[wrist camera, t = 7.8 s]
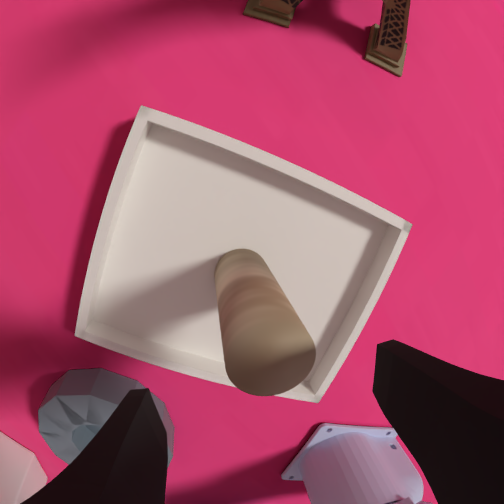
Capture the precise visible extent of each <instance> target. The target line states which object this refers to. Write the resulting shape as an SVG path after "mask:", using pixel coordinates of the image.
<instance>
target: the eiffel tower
mask: <svg viewBox="0 0 504 504" xmlns="http://www.w3.org/2000/svg"><path fill="white" fill-rule="evenodd" d="M302 1H303V0H248V2H247V5H246V8H245V10H244V13H243V15H247V16H251V17H254V18H258V19H261V20H265V21H268V22H271V23H274V24H278V25H281V26H284V27H287V28H288V27H289V25H290V22H291V20H292V18H293V15H294V12H295V8H296V6H297V5H298V4H299V3H300V2H302ZM382 1H383V6H382V13H381V20H380V26H379V25H377V24H374V25H372V26H371V30H370V35H369V39H368V44H367V49H366V53H365V57H364V59H366V60H368V61H370V62H372V63H374V64H376V65H378V66H380V67H382V68H384V69H386V70H388V71H389V72H391V73H393V74H395V75H397V76H399V77H401V76H402V71H403V66H404V60H405V54H406V48H407V43H405V41H406V35H407V25H408V17H409V9H410V0H382Z"/></svg>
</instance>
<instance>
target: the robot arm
mask: <svg viewBox="0 0 504 504" xmlns="http://www.w3.org/2000/svg"><path fill="white" fill-rule="evenodd" d="M373 393H374V395H375V398H376V400H377V402H378V404H379V406H380V408H381V410H382V411H383V413H384V415H385V417H386V418H387V420H388V421H389V422H390V424H391V425H392V427H393V428H388V427H367V426H352V425H340V424H330V423H323V424H321V425H319V426H318V428H317V429H316V430H315V432H314V433H313V434H312V436H311V437H310V439H309V440H308V441H307V443H306V444H305V445H304V447H303V448H302V449H301V450H300V452H299V453H298V454H297V456H296V457H295V458H294V459H293V461H292V462H291V463H290V465H289V466H288V467H287V468H286V469H285V471H284V472H283V473H282V474H281V477H282V479H283V480H301V481H304V484H305V487H306V490H307V493H308V496H309V499H310V502H311V504H432V503H431V502H424V501H421V500H422V497H423V482H422V479H421V476H420V474H419V473H418V471H417V470H416V468H415V467H414V465H413V464H412V462H411V461H410V459H409V458H408V456H407V455H406V453H405V452H404V450H403V449H402V447H401V446H400V444H399V443H398V441H397V440H396V438H395V437H396V436H397V435H399V437H400V438H401V440H402V441H403V442H404V444H405V445H406V447H407V448H408V450H409V451H410V452H411V454H412V455H413V457H414V458H415V459H416V461H417V463H418V464H419V466H420V468H421V469H422V471H423V473H424V475H425V477H426V479H427V481H428V483H429V485H430V487H431V489H432V491H433V493H434V496H435V498H436V500H437V502H438V504H504V380H500V379H496V378H492V377H488V376H484V375H481V374H478V373H475V372H472V371H469V370H466V369H463V368H460V367H458V366H455V365H452V364H450V363H447V362H445V361H443V360H440V359H438V358H435V357H433V356H431V355H429V354H426V353H424V352H422V351H420V350H417V349H415V348H413V347H411V346H408V345H406V344H404V343H401V342H399V341H396V340H390V341H386V342H383V343H380V344H377V352H376V363H375V373H374V383H373ZM167 466H168V444H167V431H166V429H165V427H164V425H163V422H162V420H161V418H160V415H159V413H158V410H157V408H156V406H155V403H154V401H153V398H152V396H151V393H150V390H149V388H145V389H133V390H130V391H129V392H128V393H127V394H126V396H125V397H124V398H123V400H122V401H121V402H120V404H119V405H118V406H117V408H116V409H115V410H114V412H113V413H112V414H111V416H110V417H109V419H108V420H107V421H106V422H105V424H104V425H103V426H102V428H101V429H100V430H99V431H98V433H97V434H96V435H95V436H94V438H93V439H92V440H91V441H90V442H89V443H88V445H87V446H86V447H85V448H84V449H83V450H82V452H81V453H80V454H79V455H78V456H77V457H76V458H75V459H74V460H73V461H72V462H71V463H70V464H69V465H68V466H67V467H66V468H65V469H64V470H63V471H62V472H61V473H60V474H59V475H58V476H57V477H55V478H54V479H53V480H52V481H51V482H49V483H48V484H47V485H46V486H44V487H43V488H42V489H40V490H39V491H38V492H36V493H35V494H34V495H32V496H31V497H30V498H28V499H27V500H25V501H23V502H22V503H20V504H164V501H165V489H166V477H167Z"/></svg>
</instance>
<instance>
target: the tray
mask: <svg viewBox="0 0 504 504" xmlns="http://www.w3.org/2000/svg"><path fill="white" fill-rule="evenodd" d="M412 225H413V224H411V223H409V222H408V221H406V220H404V219H402V218H400V217H399V216H397V215H395V214H393V213H391V212H389V211H388V210H386V209H384V208H382V207H380V206H378V205H376V204H374V203H373V202H371V201H369V200H367V199H365V198H363V197H361V196H359V195H357V194H355V193H353V192H351V191H349V190H347V189H345V188H343V187H341V186H339V185H337V184H335V183H333V182H331V181H329V180H327V179H325V178H323V177H321V176H318V175H316V174H314V173H312V172H310V171H308V170H306V169H303V168H301V167H299V166H297V165H295V164H292V163H290V162H288V161H286V160H284V159H281V158H279V157H277V156H274V155H272V154H270V153H267V152H265V151H263V150H260V149H258V148H256V147H253V146H251V145H248V144H246V143H243V142H241V141H239V140H236V139H234V138H231V137H229V136H226V135H223V134H221V133H218V132H216V131H213V130H210V129H208V128H205V127H202V126H200V125H197V124H194V123H192V122H189V121H186V120H183V119H180V118H178V117H175V116H172V115H169V114H166V113H163V112H160V111H157V110H154V109H151V108H148V107H145V106H142V105H141V107H140V109H139V111H138V114H137V116H136V118H135V121H134V123H133V126H132V128H131V131H130V133H129V136H128V138H127V141H126V144H125V146H124V149H123V152H122V154H121V157H120V160H119V163H118V165H117V168H116V171H115V174H114V177H113V180H112V183H111V186H110V189H109V192H108V195H107V198H106V202H105V205H104V208H103V212H102V215H101V218H100V222H99V225H98V229H97V233H96V236H95V240H94V244H93V248H92V252H91V256H90V260H89V264H88V268H87V273H86V277H85V282H84V287H83V291H82V296H81V301H80V307H79V312H78V318H77V324H76V330H75V336H76V337H79V338H81V339H83V340H86V341H89V342H91V343H94V344H96V345H99V346H102V347H104V348H107V349H110V350H112V351H115V352H118V353H121V354H123V355H126V356H129V357H132V358H135V359H138V360H141V361H144V362H147V363H150V364H153V365H157V366H160V367H163V368H166V369H169V370H173V371H176V372H180V373H183V374H187V375H190V376H194V377H197V378H201V379H205V380H209V381H213V382H217V383H221V384H225V385H229V386H233V387H236V386H235V385H234V384H233V383H232V382H231V381H230V379H229V378H228V376H227V373H226V369H225V362H224V355H223V347H222V339H221V331H220V322H219V314H218V305H217V296H216V287H215V278H214V273H215V267H216V265H217V263H218V261H219V260H220V258H221V257H222V256H223V255H225V254H226V253H228V252H229V251H232V250H235V249H249V250H252V251H255V252H256V253H258V254H259V255H260V256H261V257H262V258H263V259H264V261H265V262H266V264H267V266H268V267H269V269H270V271H271V272H272V274H273V275H274V277H275V279H276V280H277V282H278V284H279V285H280V287H281V288H282V290H283V292H284V293H285V295H286V297H287V298H288V300H289V302H290V303H291V305H292V306H293V308H294V310H295V311H296V313H297V315H298V316H299V318H300V320H301V321H302V323H303V324H304V326H305V328H306V329H307V331H308V333H309V334H310V336H311V338H312V339H313V341H314V344H315V348H316V358H315V362H314V365H313V368H312V370H311V371H310V373H309V374H308V376H307V377H306V378H305V379H304V380H303V381H302V382H301V383H300V384H299V385H297V386H296V387H294V388H292V389H291V390H289V391H286V392H284V393H281V394H277V395H275V396H280V397H285V398H291V399H297V400H302V401H309V402H315V403H319V401H320V400H321V398H322V396H323V395H324V393H325V392H326V390H327V389H328V387H329V385H330V384H331V382H332V381H333V379H334V377H335V376H336V374H337V372H338V371H339V369H340V367H341V366H342V364H343V362H344V361H345V359H346V357H347V356H348V354H349V352H350V350H351V349H352V347H353V345H354V343H355V342H356V340H357V338H358V336H359V334H360V333H361V331H362V329H363V327H364V325H365V323H366V322H367V320H368V318H369V316H370V314H371V312H372V310H373V308H374V306H375V304H376V303H377V301H378V299H379V297H380V295H381V293H382V291H383V289H384V287H385V284H386V282H387V280H388V278H389V276H390V274H391V272H392V270H393V268H394V266H395V263H396V261H397V259H398V257H399V255H400V252H401V250H402V248H403V246H404V243H405V241H406V239H407V236H408V234H409V232H410V229H411V227H412Z"/></svg>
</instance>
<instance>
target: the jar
mask: <svg viewBox="0 0 504 504" xmlns="http://www.w3.org/2000/svg"><path fill="white" fill-rule="evenodd" d="M47 479H48V478H47V476H46V474H45V472H44V470H43V469H42V467H41V465H40V463H39V461H38V459H37V457H36V455H35V454H34V453H33V452H32V451H30V450H28V449H27V448H25V447H24V446H22V445H20V444H19V443H17V442H16V441H14V440H13V439H11V438H10V437H8V436H7V435H5V434H4V433H2V432H1V431H0V504H20V503H22V502H23V501H25V500H27V499H28V498H30V497H31V496H32V495H34V494H35V493H36V492H38V491H39V490H40V489H42V488H43V487H44V486H45V485H46V482H47Z"/></svg>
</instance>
